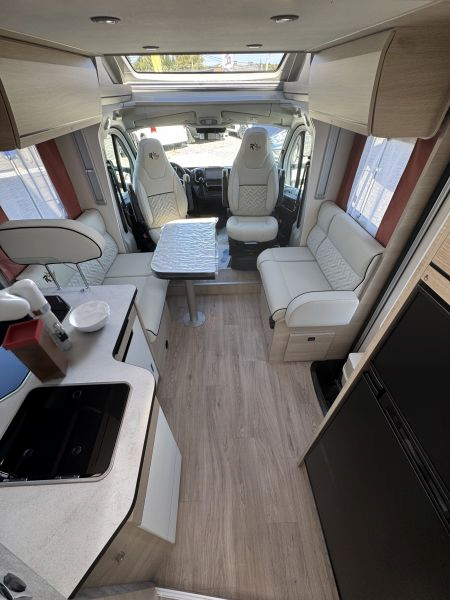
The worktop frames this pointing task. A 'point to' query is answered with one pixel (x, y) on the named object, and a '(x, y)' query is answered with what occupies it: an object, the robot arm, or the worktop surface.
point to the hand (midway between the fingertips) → (58, 336)
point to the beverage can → (62, 345)
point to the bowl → (90, 316)
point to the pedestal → (43, 358)
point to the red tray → (23, 334)
